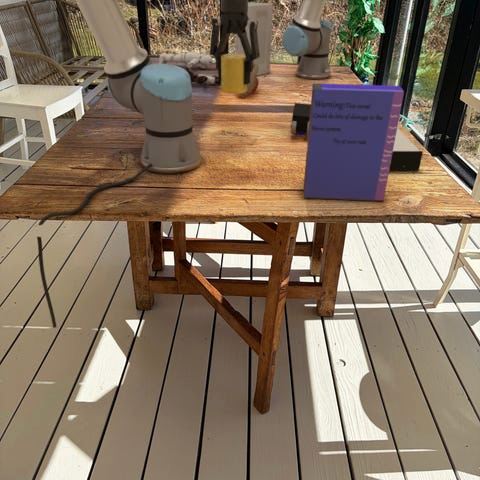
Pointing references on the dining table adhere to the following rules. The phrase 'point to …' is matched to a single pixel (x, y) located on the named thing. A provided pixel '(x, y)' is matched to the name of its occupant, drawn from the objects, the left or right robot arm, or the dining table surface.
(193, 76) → the figurine
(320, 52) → the right robot arm
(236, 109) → the dining table surface
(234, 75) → the tin
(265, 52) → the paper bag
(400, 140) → the disc drive
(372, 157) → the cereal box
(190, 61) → the toy
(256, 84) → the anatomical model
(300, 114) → the figurine character
